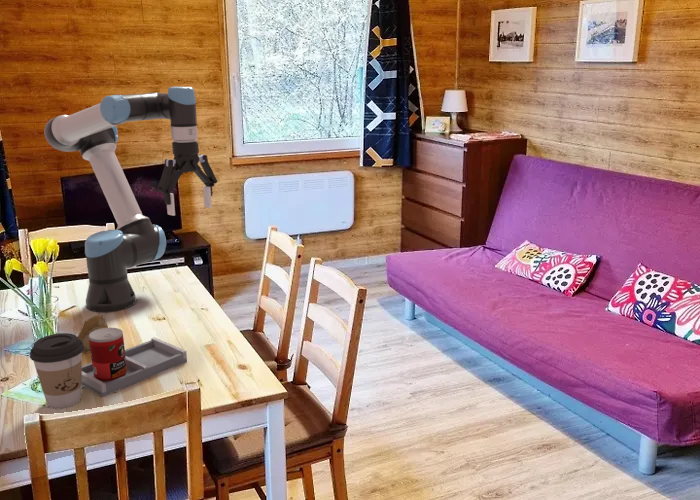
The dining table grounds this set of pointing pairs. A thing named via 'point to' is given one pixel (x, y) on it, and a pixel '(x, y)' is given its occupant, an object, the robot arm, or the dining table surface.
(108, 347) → the canned food
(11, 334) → the dining table surface
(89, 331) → the rock
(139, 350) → the tray
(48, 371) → the coffee cup
